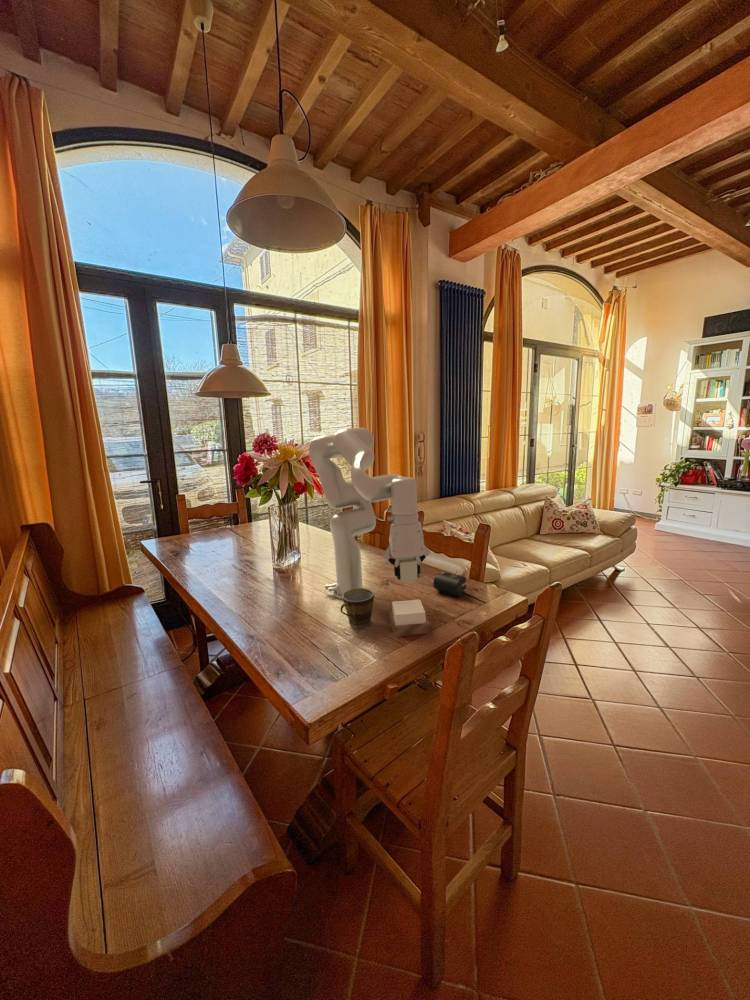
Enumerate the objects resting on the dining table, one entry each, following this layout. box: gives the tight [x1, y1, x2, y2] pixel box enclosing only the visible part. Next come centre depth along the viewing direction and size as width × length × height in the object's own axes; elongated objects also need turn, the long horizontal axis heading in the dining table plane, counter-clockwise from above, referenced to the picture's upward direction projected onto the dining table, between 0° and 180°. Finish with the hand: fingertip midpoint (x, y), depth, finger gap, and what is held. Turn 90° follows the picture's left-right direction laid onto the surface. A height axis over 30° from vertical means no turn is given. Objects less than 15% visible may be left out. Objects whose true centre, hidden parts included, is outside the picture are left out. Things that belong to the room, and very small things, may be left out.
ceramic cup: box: [340, 588, 375, 630], centre depth 127 cm, size 13×10×10 cm
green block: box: [399, 557, 418, 583], centre depth 122 cm, size 5×5×6 cm
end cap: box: [432, 572, 467, 598], centre depth 148 cm, size 10×7×7 cm
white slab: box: [391, 599, 426, 626], centre depth 125 cm, size 9×9×4 cm
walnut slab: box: [388, 610, 432, 638], centre depth 126 cm, size 11×11×4 cm
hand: (407, 576), depth 123 cm, fingers closed on green block, 5 cm apart
